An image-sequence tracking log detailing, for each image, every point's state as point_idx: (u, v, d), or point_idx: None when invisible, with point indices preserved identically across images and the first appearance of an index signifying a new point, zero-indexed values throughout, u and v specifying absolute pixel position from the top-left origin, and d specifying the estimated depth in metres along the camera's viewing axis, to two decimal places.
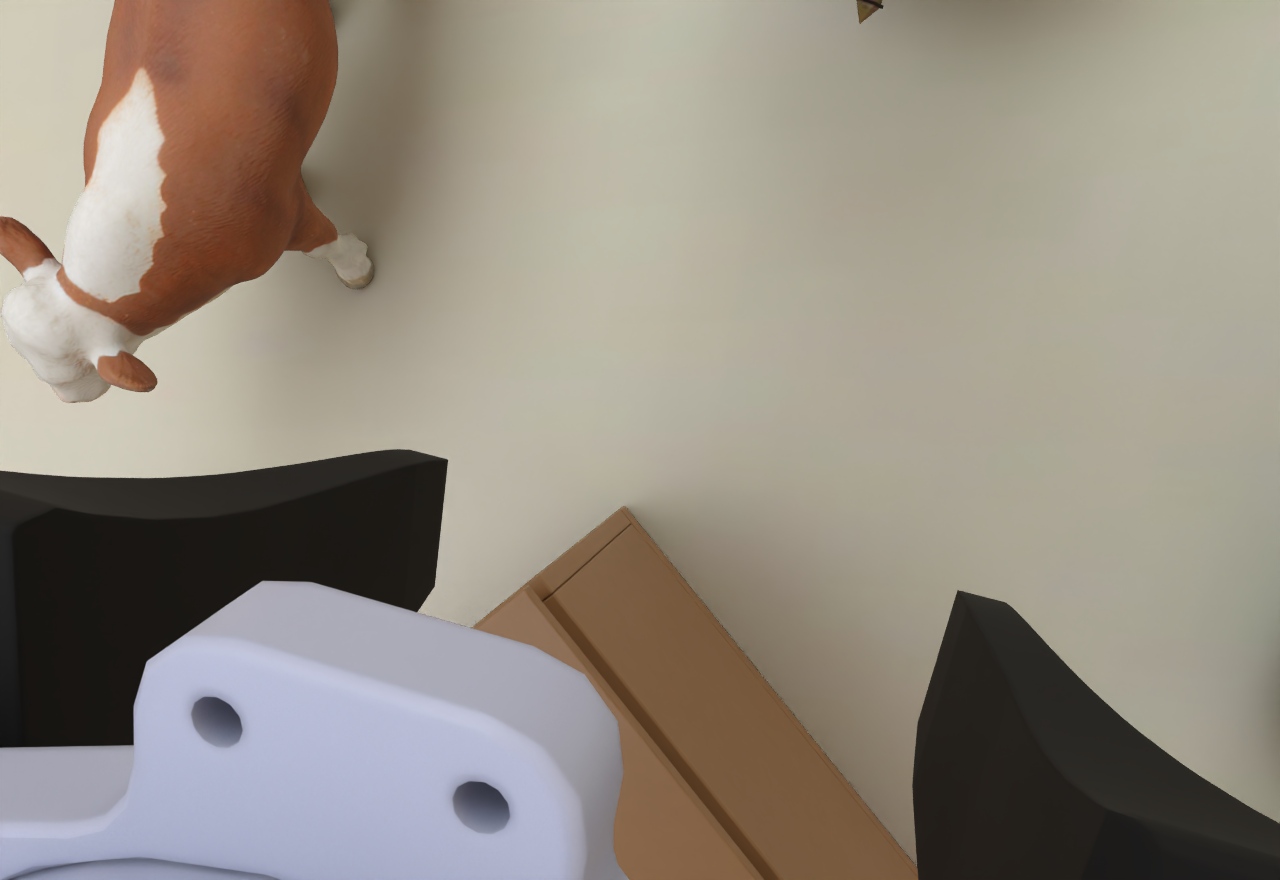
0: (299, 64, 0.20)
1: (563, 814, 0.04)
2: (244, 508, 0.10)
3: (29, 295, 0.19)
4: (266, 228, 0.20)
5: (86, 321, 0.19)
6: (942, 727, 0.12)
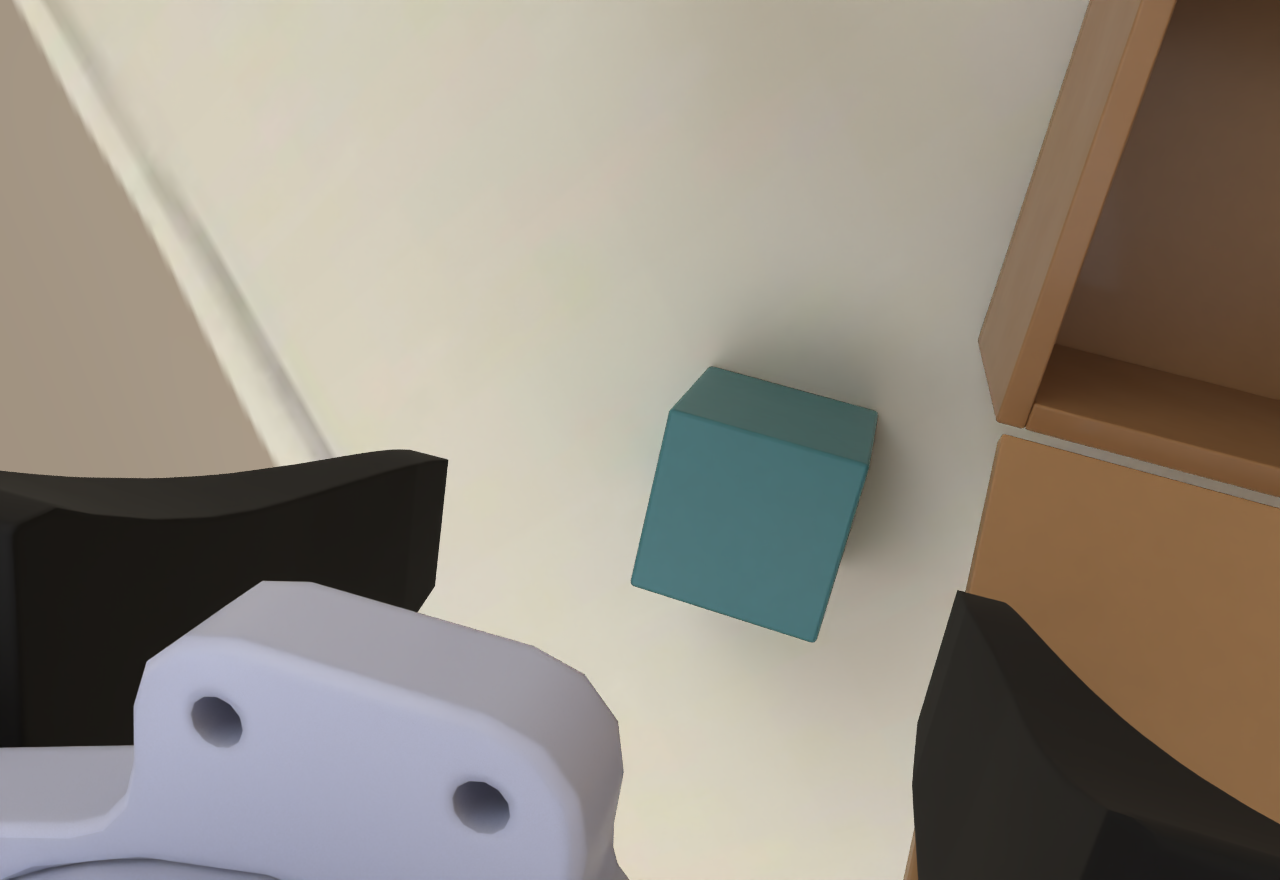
0: None
1: (563, 814, 0.04)
2: (244, 508, 0.10)
3: None
4: None
5: None
6: (942, 727, 0.12)
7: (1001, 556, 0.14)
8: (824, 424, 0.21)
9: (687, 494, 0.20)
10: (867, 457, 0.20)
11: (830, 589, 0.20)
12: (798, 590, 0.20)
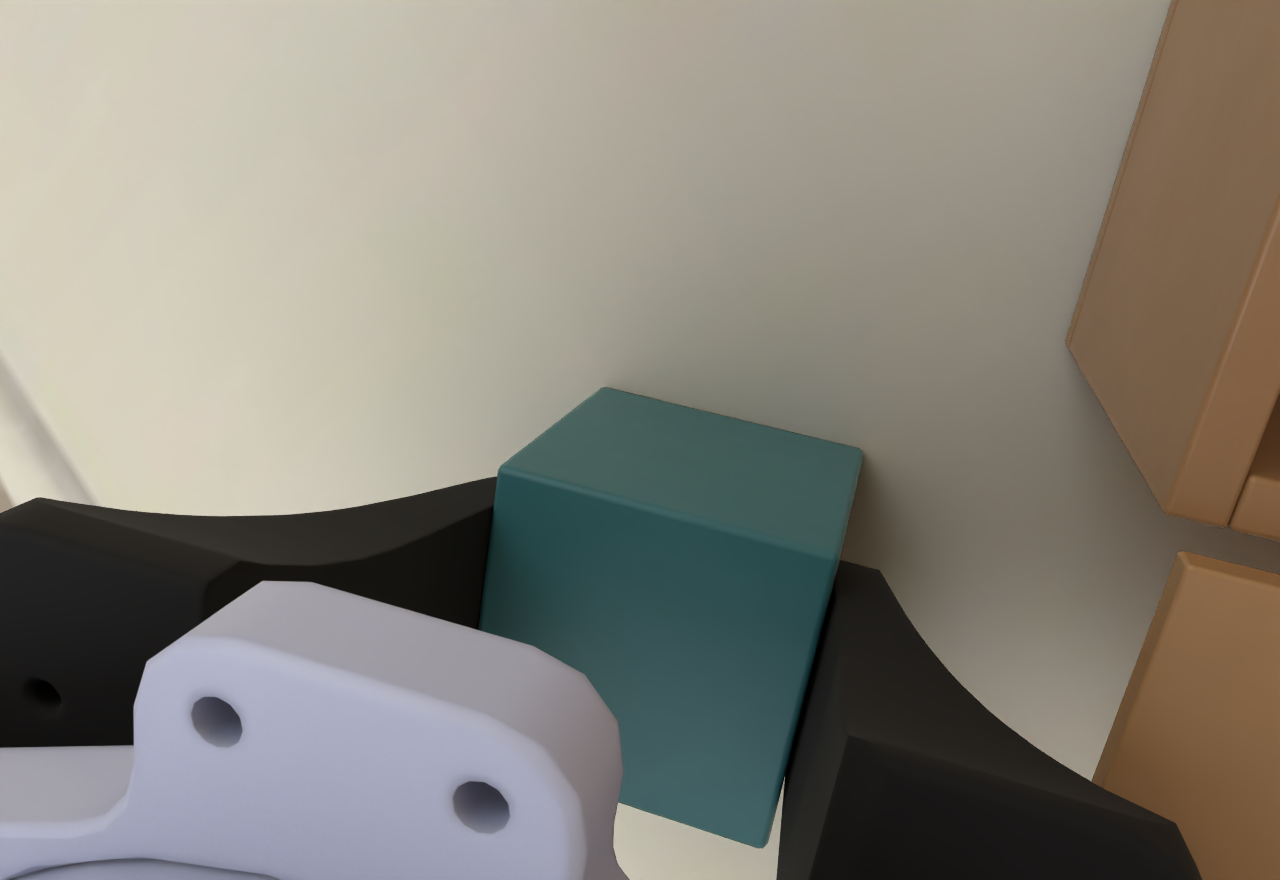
0: None
1: (562, 814, 0.04)
2: (384, 547, 0.10)
3: None
4: None
5: None
6: (807, 689, 0.12)
7: None
8: (769, 478, 0.13)
9: (538, 607, 0.12)
10: (837, 539, 0.11)
11: (785, 763, 0.12)
12: (732, 765, 0.12)
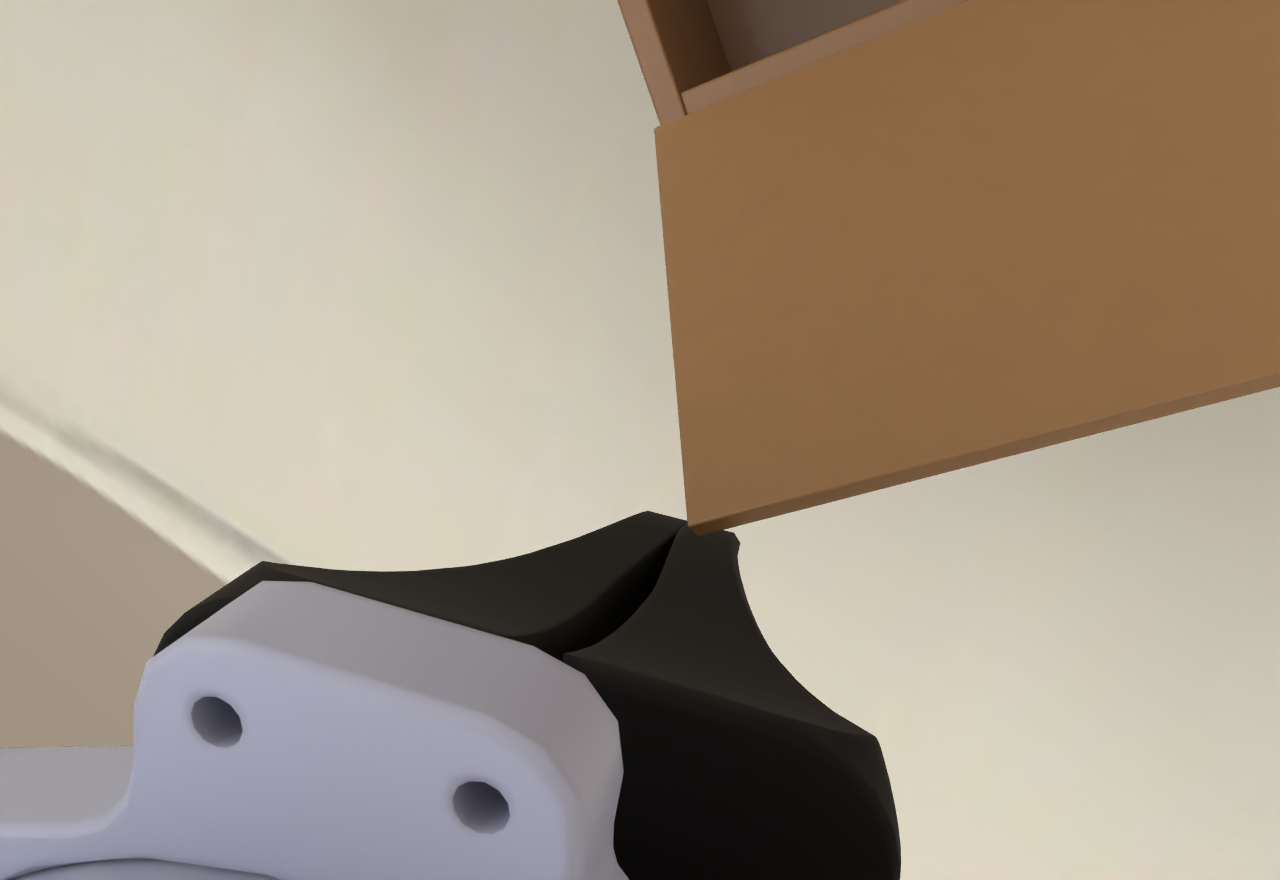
0: None
1: (563, 814, 0.04)
2: (579, 601, 0.09)
3: None
4: None
5: None
6: None
7: (683, 212, 0.14)
8: None
9: None
10: None
11: None
12: None
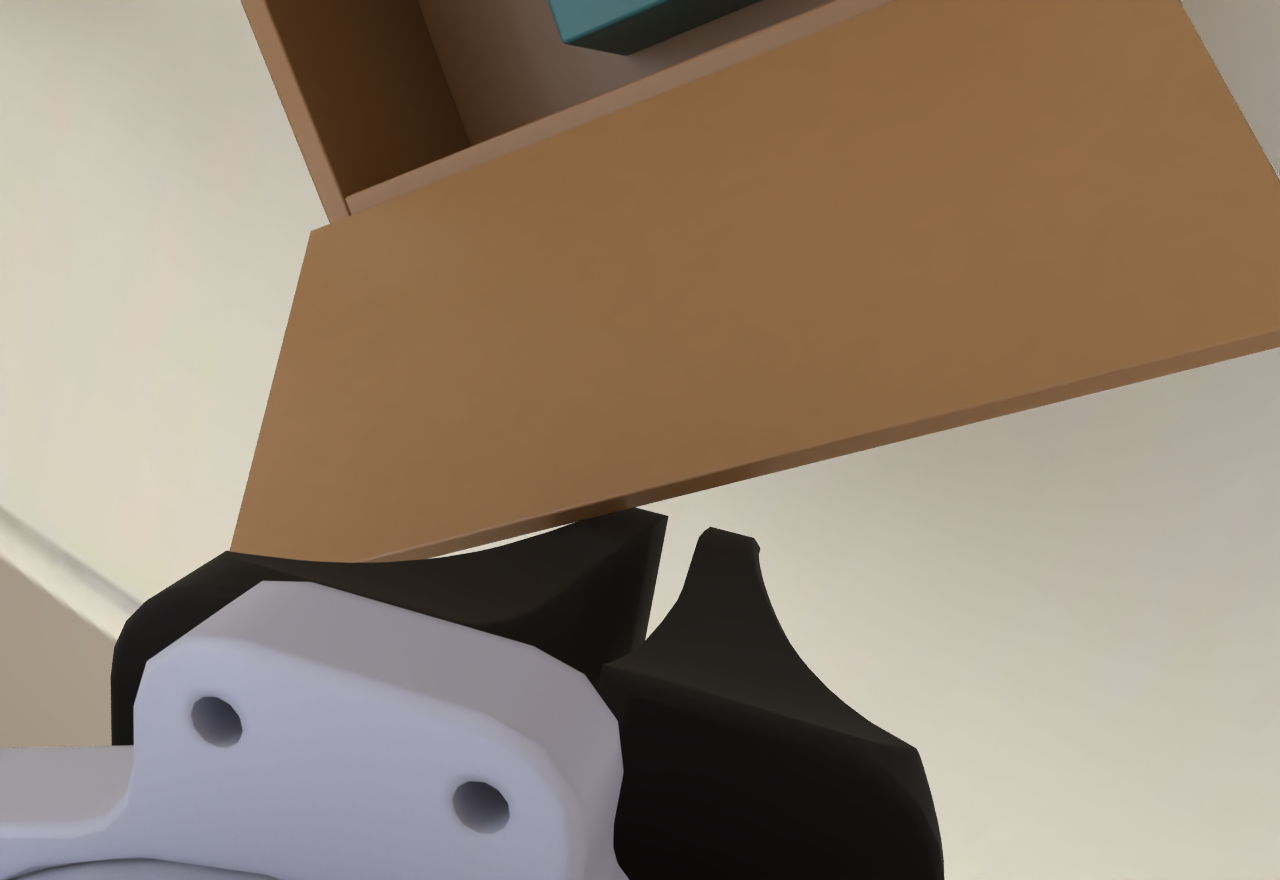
0: None
1: (563, 813, 0.04)
2: (547, 593, 0.09)
3: None
4: None
5: None
6: None
7: (305, 312, 0.16)
8: None
9: None
10: None
11: None
12: None
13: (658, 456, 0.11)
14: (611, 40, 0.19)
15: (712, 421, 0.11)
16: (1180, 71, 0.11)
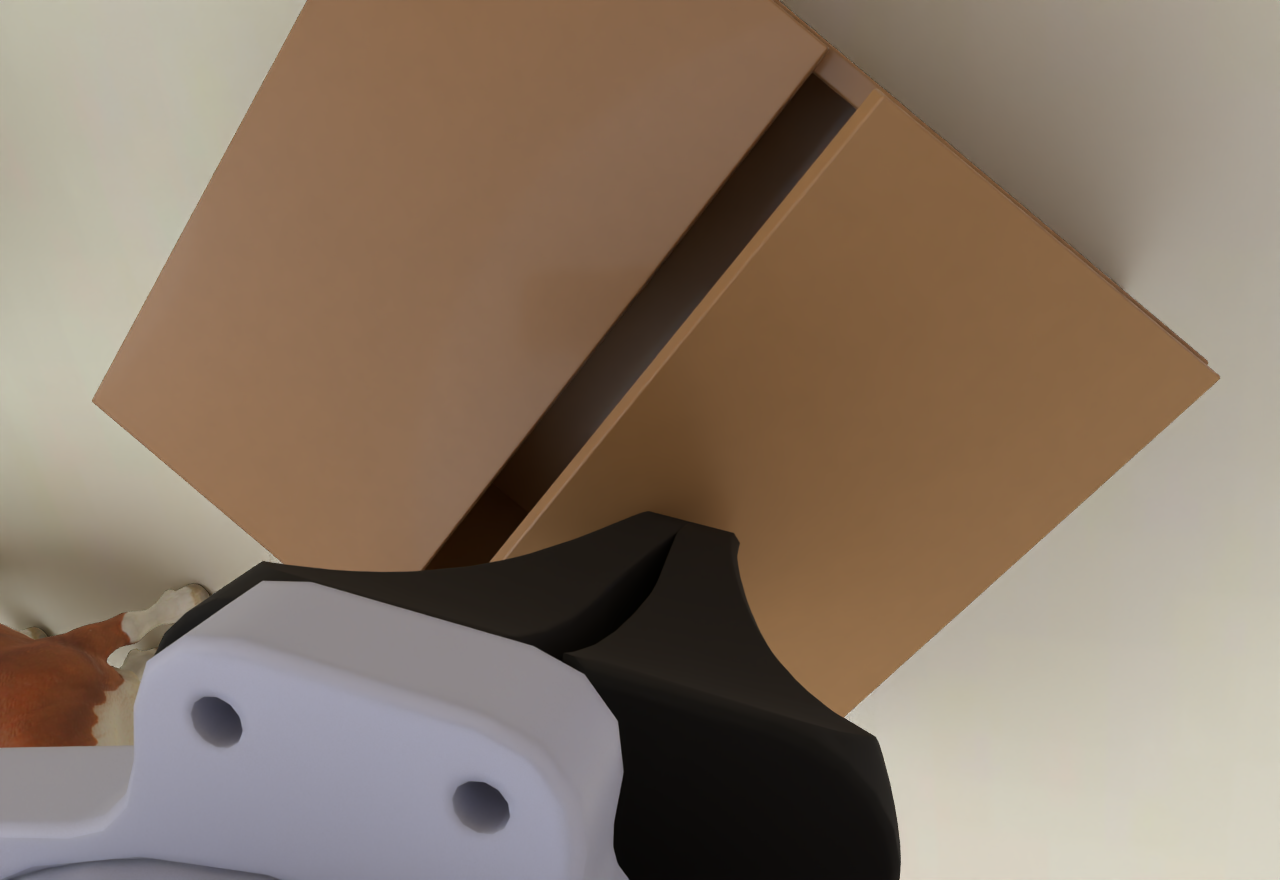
0: None
1: (563, 815, 0.04)
2: (579, 601, 0.09)
3: None
4: (20, 661, 0.24)
5: None
6: None
7: None
8: None
9: None
10: None
11: None
12: None
13: None
14: None
15: None
16: None
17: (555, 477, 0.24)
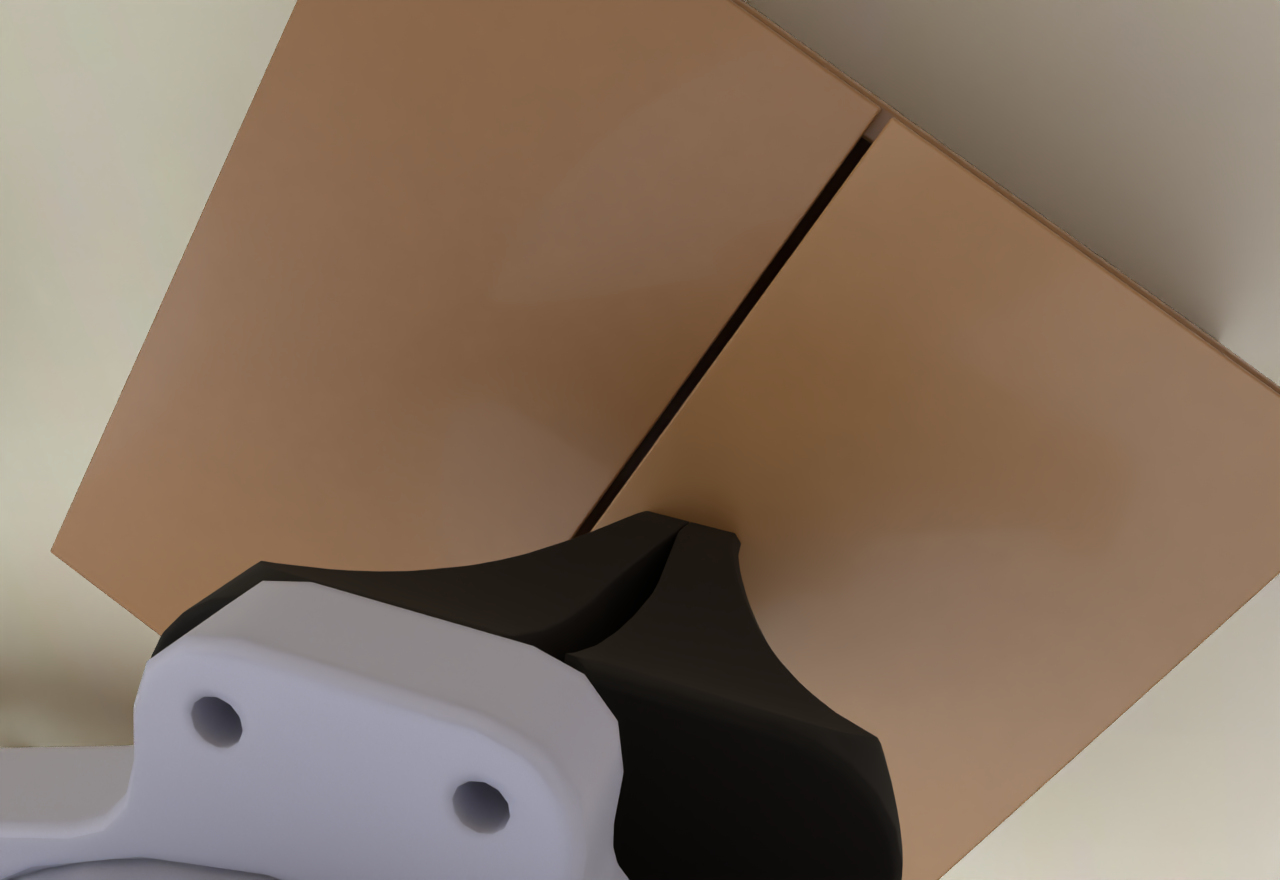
0: None
1: (563, 814, 0.04)
2: (577, 601, 0.09)
3: None
4: None
5: None
6: None
7: None
8: None
9: None
10: None
11: None
12: None
13: None
14: None
15: None
16: None
17: None
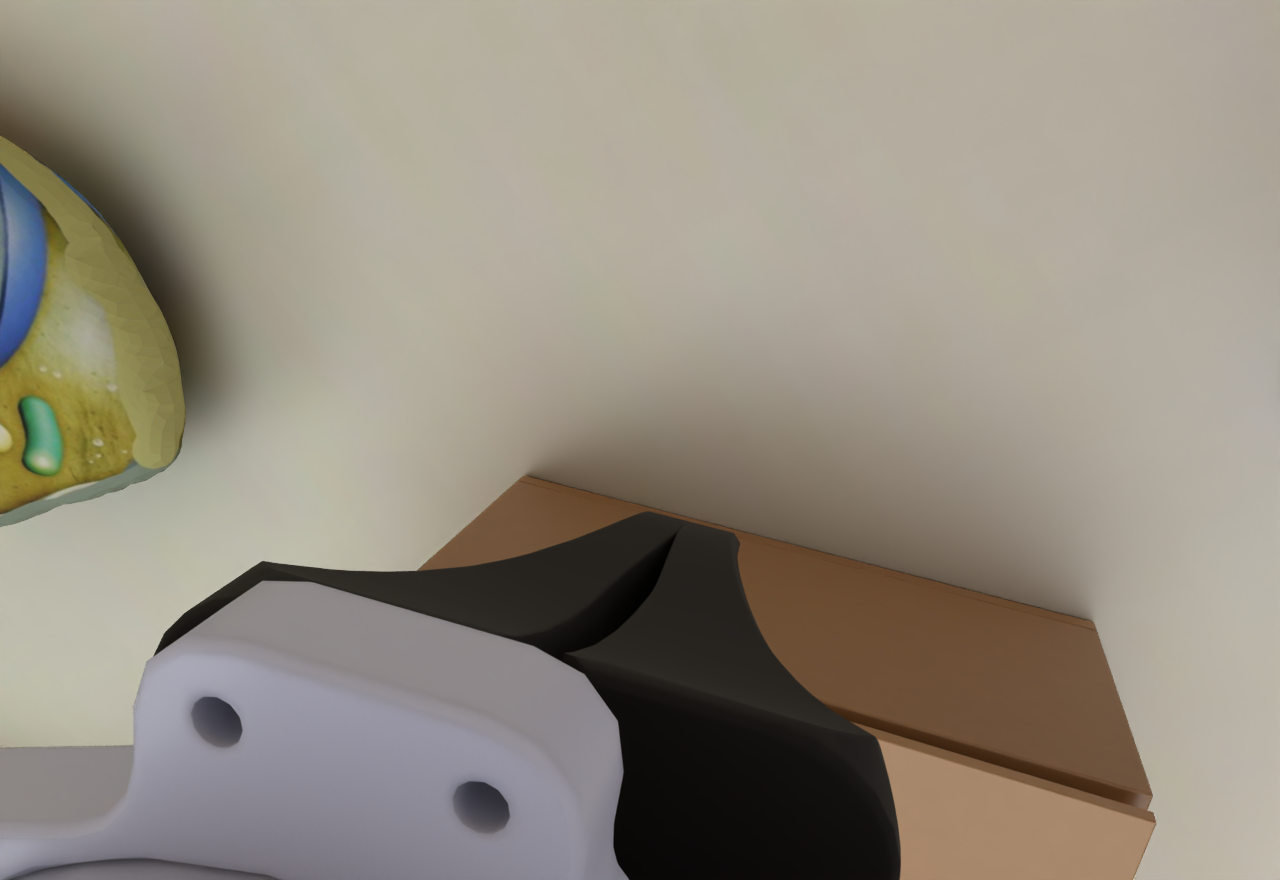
0: None
1: (563, 814, 0.04)
2: (579, 601, 0.09)
3: None
4: None
5: None
6: None
7: None
8: None
9: None
10: None
11: None
12: None
13: None
14: None
15: None
16: None
17: None
